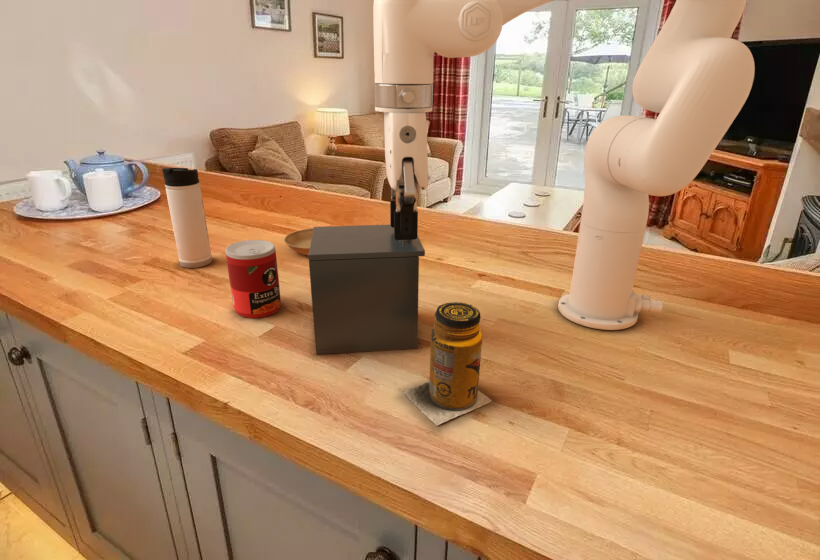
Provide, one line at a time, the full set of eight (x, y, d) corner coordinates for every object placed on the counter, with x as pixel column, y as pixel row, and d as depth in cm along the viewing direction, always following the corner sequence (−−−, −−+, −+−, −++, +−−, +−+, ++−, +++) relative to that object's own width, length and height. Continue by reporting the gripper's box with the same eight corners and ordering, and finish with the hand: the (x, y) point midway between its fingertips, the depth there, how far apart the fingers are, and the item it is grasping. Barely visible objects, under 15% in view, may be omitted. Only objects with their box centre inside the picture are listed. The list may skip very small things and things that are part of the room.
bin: (407, 310, 83) (407, 229, 77) (417, 348, 72) (419, 257, 66) (319, 314, 81) (313, 231, 76) (316, 354, 70) (308, 261, 64)
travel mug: (171, 266, 100) (152, 167, 92) (195, 256, 106) (179, 162, 98) (195, 270, 98) (177, 170, 90) (218, 260, 104) (204, 164, 96)
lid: (412, 228, 78) (413, 196, 75) (424, 256, 66) (425, 219, 64) (313, 231, 76) (311, 199, 74) (308, 260, 64) (305, 223, 62)
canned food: (257, 323, 78) (248, 259, 74) (223, 311, 82) (214, 249, 78) (291, 305, 84) (285, 245, 80) (259, 294, 88) (251, 236, 84)
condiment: (492, 402, 60) (500, 315, 56) (436, 427, 56) (440, 335, 51) (455, 373, 66) (459, 292, 61) (402, 394, 62) (402, 308, 57)
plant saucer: (275, 257, 105) (273, 246, 104) (297, 236, 119) (296, 226, 118) (342, 261, 104) (341, 249, 103) (357, 239, 117) (356, 228, 116)
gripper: (444, 103, 56) (439, 252, 64) (422, 96, 72) (420, 216, 79) (379, 103, 56) (381, 254, 63) (371, 95, 71) (374, 217, 78)
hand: (403, 231), depth 71 cm, fingers closed on lid, 5 cm apart
